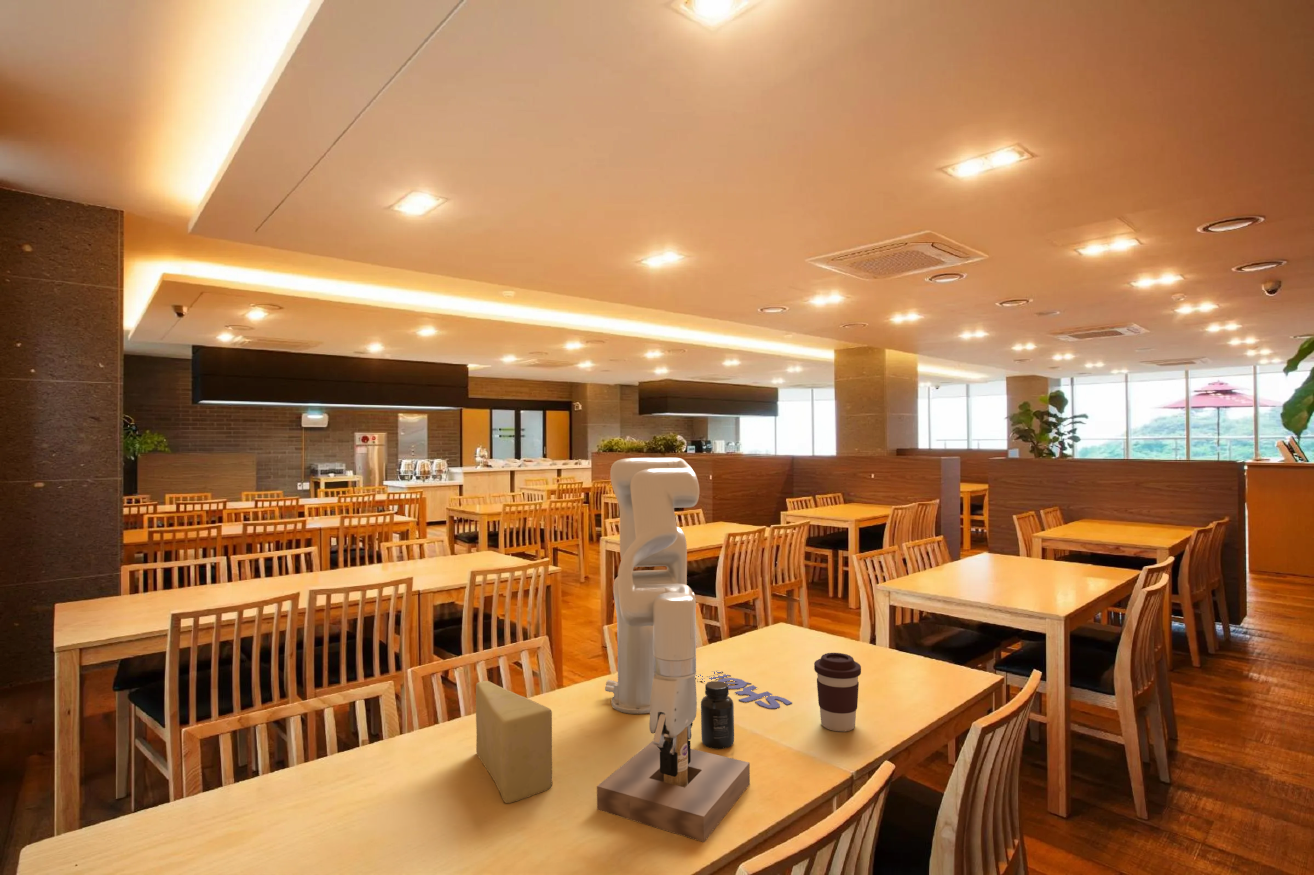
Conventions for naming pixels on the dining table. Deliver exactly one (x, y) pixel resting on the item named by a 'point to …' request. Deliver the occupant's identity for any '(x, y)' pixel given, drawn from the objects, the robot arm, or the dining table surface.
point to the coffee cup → (837, 690)
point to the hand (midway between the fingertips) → (675, 766)
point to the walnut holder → (675, 792)
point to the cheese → (513, 741)
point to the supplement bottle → (717, 716)
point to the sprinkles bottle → (680, 760)
